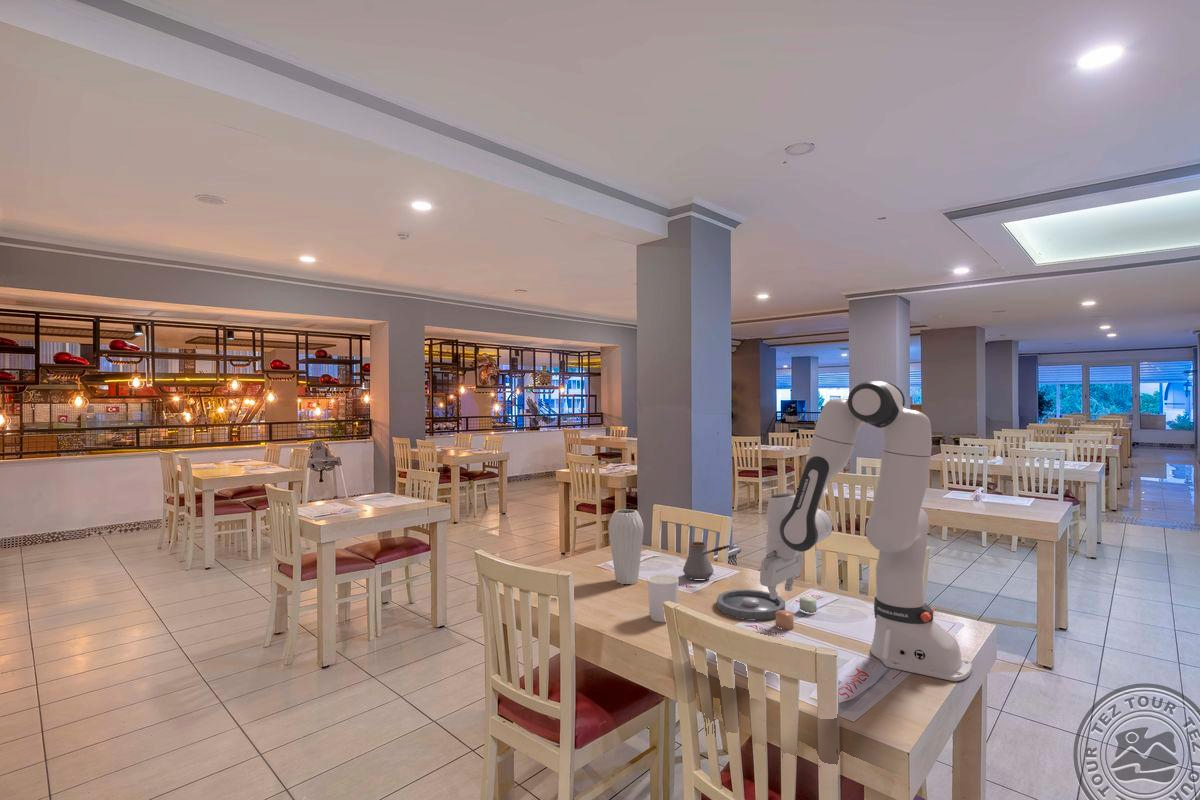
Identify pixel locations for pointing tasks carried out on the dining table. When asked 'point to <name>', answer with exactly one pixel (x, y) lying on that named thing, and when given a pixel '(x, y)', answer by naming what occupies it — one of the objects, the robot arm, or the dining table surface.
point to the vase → (626, 544)
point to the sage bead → (808, 604)
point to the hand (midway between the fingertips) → (781, 594)
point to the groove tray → (749, 613)
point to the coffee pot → (699, 561)
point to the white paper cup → (661, 594)
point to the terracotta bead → (784, 619)
